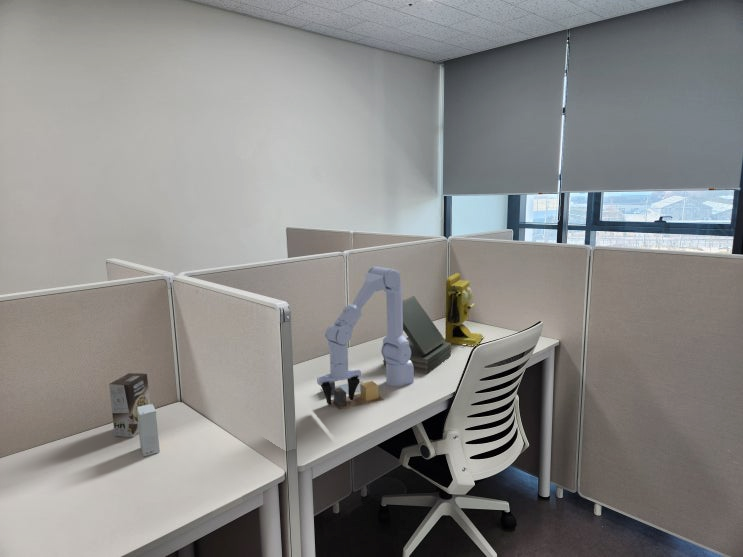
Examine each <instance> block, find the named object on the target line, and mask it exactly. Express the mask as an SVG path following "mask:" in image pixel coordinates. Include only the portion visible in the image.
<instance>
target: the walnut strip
mask: <svg viewBox="0 0 743 557" xmlns="http://www.w3.org/2000/svg"><path fill="white" fill-rule="evenodd" d="M384 400H385V399H384V398H383V397H382V396H381V395H379V394H378V399H374V400H369V401H366V400H364V399H363V398H362V397H361V395H360V393H358V394H354V398H353V400H350V399H349V395H348V396H347V394H346V392H345V391H344V390H343V389H342V388H341V387H339V388H334V397H333V399H331V404H333V405H334V406H335V408H337V409H338V410H339V411H340V410H345V409H348V408H349V409H350V408H353V407H357V406H361V405H362V406H363V405H366V404H371V403H376V402H381V401H384Z"/></svg>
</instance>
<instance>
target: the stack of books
mask: <svg viewBox="0 0 743 557" xmlns="http://www.w3.org/2000/svg"><path fill="white" fill-rule="evenodd" d="M402 310H403V333H404V334H405V335H406V336H407V337H405V338H406V339H407V340H408V341H409V347H410V349H411V357H410V359H409V360H411V362H412V364H413V367H414V372H415V373H416V372H417V373H420V374H425V375H428V374H430V373H431V372H432V371H434V370H435V369H436V368H438V367H439V366H440V365H441V363H442V362H443V363H445V362H446V361H447V360H449V359H450V358H451V357H452V356H451V355H452V344H451V343H447V342H445V341H446V340H445V338H444V337H443V335H442V334H441V331H440V330H439V329H438V328H437V326H436V325H435V323H434V322H433V321H432V319H431V318H430V316H429V315H428V313H427V312H426V311H425V309H424V308H423V307H422V305H421V303H420V302H419V301H418V299H417V297H415V295H412V296H411V297H407V298H406V299H402ZM450 356H451V357H450ZM449 357H450V358H449ZM446 359H447V360H446ZM445 360H446V361H445ZM382 362H383V366H385V367H386V361H385V357H383V360H382ZM443 363H442V364H443Z"/></svg>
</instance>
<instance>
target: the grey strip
mask: <svg viewBox="0 0 743 557" xmlns="http://www.w3.org/2000/svg"><path fill="white" fill-rule="evenodd" d="M360 383H364V382H363V380H360V382H359V384H358V386H357V388H356V390H355V393H358V392H360ZM329 384H330V386H331V387H332V390H331V398H334V388H339V387H341V388H342V389H343V390H344V391H345V392H346V395H348V383H345V384H339V385H336V381H334V382H329ZM319 390H320V391H321V393H322V394H324V391H323V389H322V388H320V389H319Z"/></svg>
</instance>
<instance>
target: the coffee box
mask: <svg viewBox="0 0 743 557" xmlns="http://www.w3.org/2000/svg"><path fill="white" fill-rule="evenodd" d="M108 386H109V395H110V402H111V403H110V404H111V414H112V423H113V424H112V425H113V431H114V432H113V433H114V437H124V438H134V437H136V436H137V435H139V427H138V416H137V407H139V406H144V405H149V404H151V401H150V392H149V391H150V389H149V381H148V374H147V373H140V372H139V373H136V372H135V373H133V372H130V373H126V374H125V375H123V376H121V377H119V378H118V379H116V380H114V381H112V382H110V383H109V384H108Z"/></svg>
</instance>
